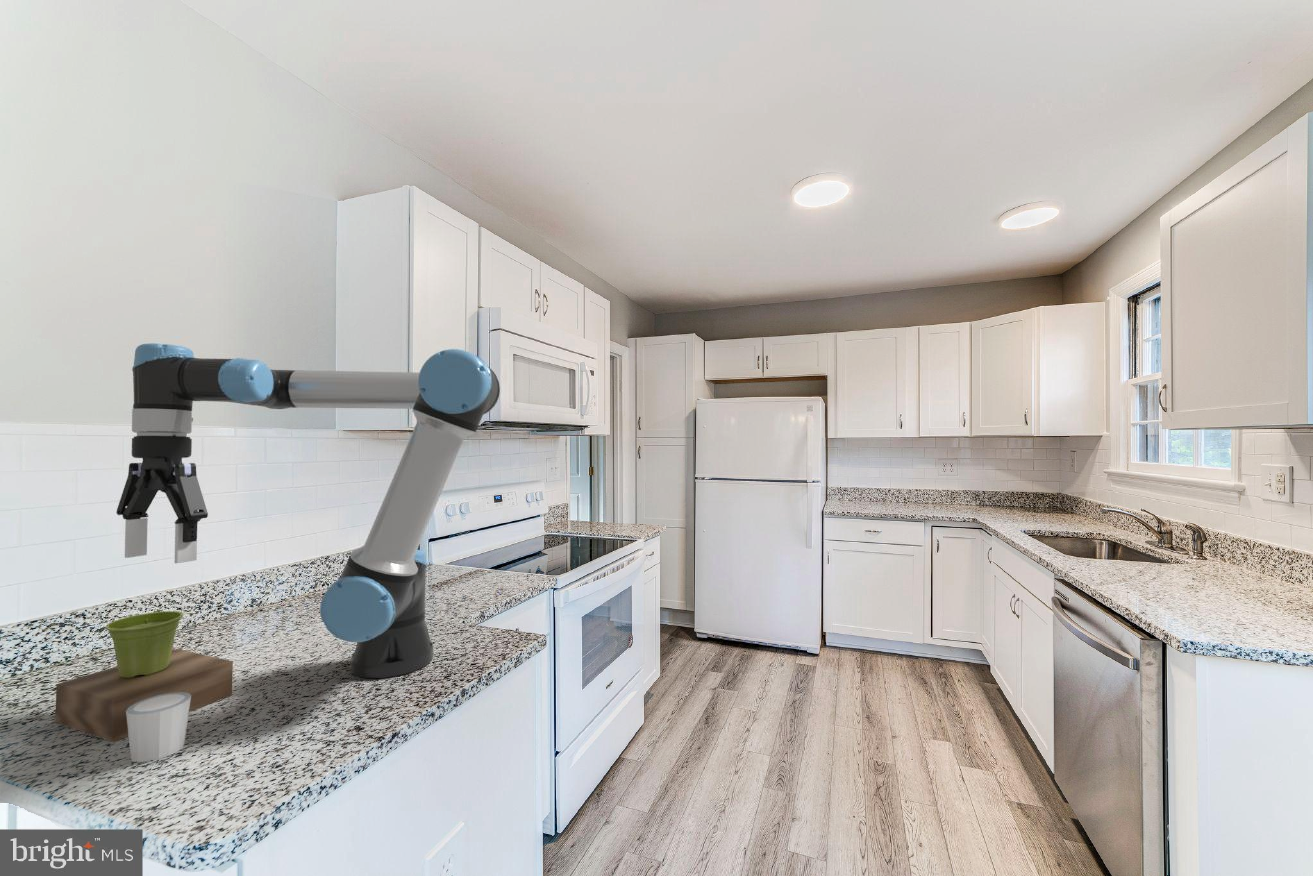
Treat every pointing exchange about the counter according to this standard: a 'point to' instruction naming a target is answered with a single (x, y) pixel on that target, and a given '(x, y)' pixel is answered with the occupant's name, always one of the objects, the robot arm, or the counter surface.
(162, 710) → the white tapered cup
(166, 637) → the plant pot
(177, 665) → the walnut block
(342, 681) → the counter surface
